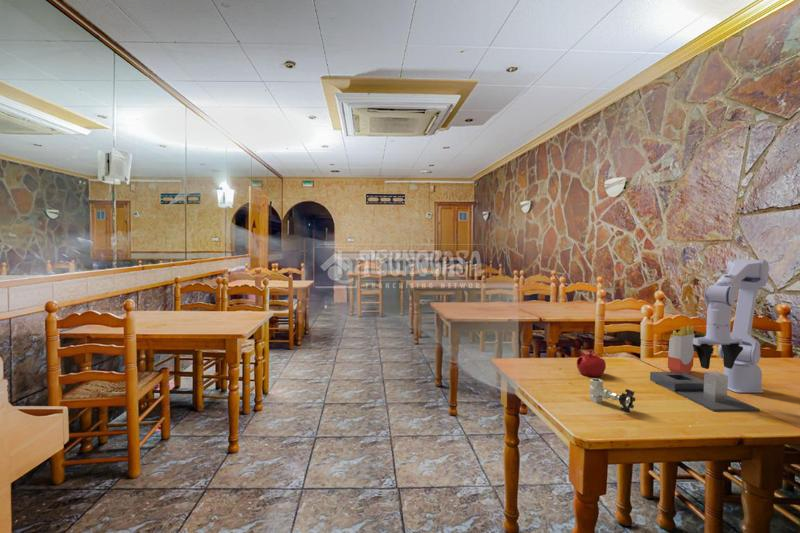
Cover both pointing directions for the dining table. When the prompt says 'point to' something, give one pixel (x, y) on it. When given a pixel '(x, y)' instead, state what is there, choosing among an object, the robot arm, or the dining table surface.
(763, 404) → the dining table surface
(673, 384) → the socket block
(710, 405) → the rubber mat
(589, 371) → the pomegranate
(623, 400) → the valve
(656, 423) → the dining table surface
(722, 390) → the steel peg
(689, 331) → the french fries container
